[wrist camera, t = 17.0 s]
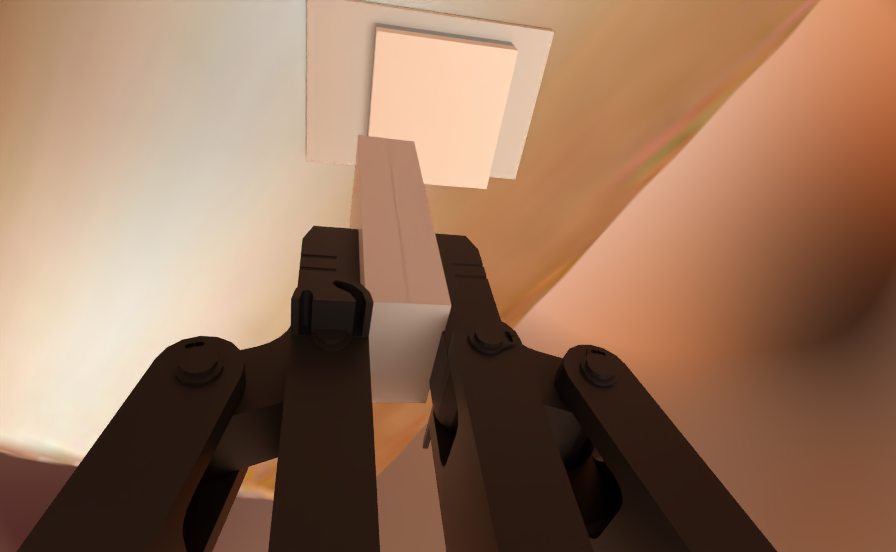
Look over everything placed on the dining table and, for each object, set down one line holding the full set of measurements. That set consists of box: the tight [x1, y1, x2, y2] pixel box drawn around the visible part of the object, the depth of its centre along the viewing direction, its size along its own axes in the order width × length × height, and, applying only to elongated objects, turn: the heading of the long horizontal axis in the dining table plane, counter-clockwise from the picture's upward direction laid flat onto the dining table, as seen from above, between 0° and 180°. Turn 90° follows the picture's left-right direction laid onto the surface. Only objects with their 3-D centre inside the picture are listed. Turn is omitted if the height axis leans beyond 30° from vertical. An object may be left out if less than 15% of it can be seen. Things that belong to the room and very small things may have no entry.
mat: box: [307, 0, 554, 179], centre depth 37 cm, size 11×16×1 cm
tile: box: [367, 23, 518, 189], centre depth 37 cm, size 10×2×9 cm
